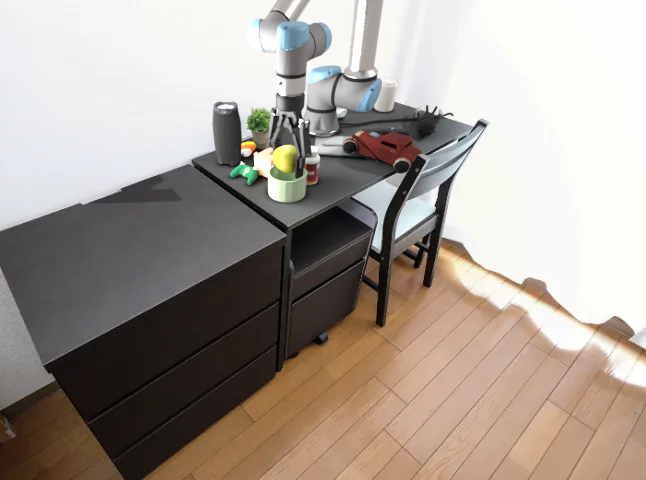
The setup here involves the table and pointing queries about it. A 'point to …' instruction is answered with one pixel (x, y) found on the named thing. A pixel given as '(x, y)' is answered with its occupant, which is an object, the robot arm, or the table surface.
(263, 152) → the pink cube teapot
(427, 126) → the toy
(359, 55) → the robot arm
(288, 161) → the apple
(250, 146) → the candy corn
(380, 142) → the toy car
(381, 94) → the white cylindrical container
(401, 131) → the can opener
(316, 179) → the pill bottle
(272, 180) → the light green bowl
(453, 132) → the table surface
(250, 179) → the gaming controller
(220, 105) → the portable speaker
